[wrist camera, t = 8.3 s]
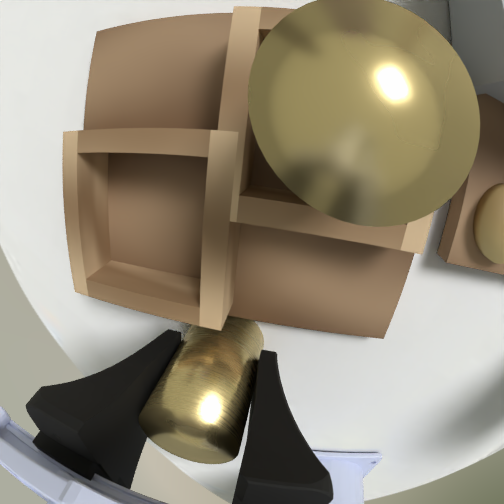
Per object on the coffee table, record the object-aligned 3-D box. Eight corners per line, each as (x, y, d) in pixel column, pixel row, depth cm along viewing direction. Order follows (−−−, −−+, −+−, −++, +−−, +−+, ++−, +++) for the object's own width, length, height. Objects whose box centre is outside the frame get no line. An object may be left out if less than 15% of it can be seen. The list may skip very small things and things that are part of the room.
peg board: (379, 328, 12) (393, 369, 10) (99, 275, 14) (67, 301, 11) (436, 58, 8) (469, 41, 5) (106, 35, 9) (68, 21, 7)
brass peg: (262, 369, 14) (240, 470, 9) (195, 360, 15) (152, 450, 9) (264, 311, 13) (236, 420, 7) (187, 303, 13) (126, 395, 8)
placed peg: (374, 186, 9) (457, 245, 4) (273, 168, 10) (234, 204, 4) (388, 87, 8) (481, 39, 2) (285, 68, 8) (262, -18, 3)
